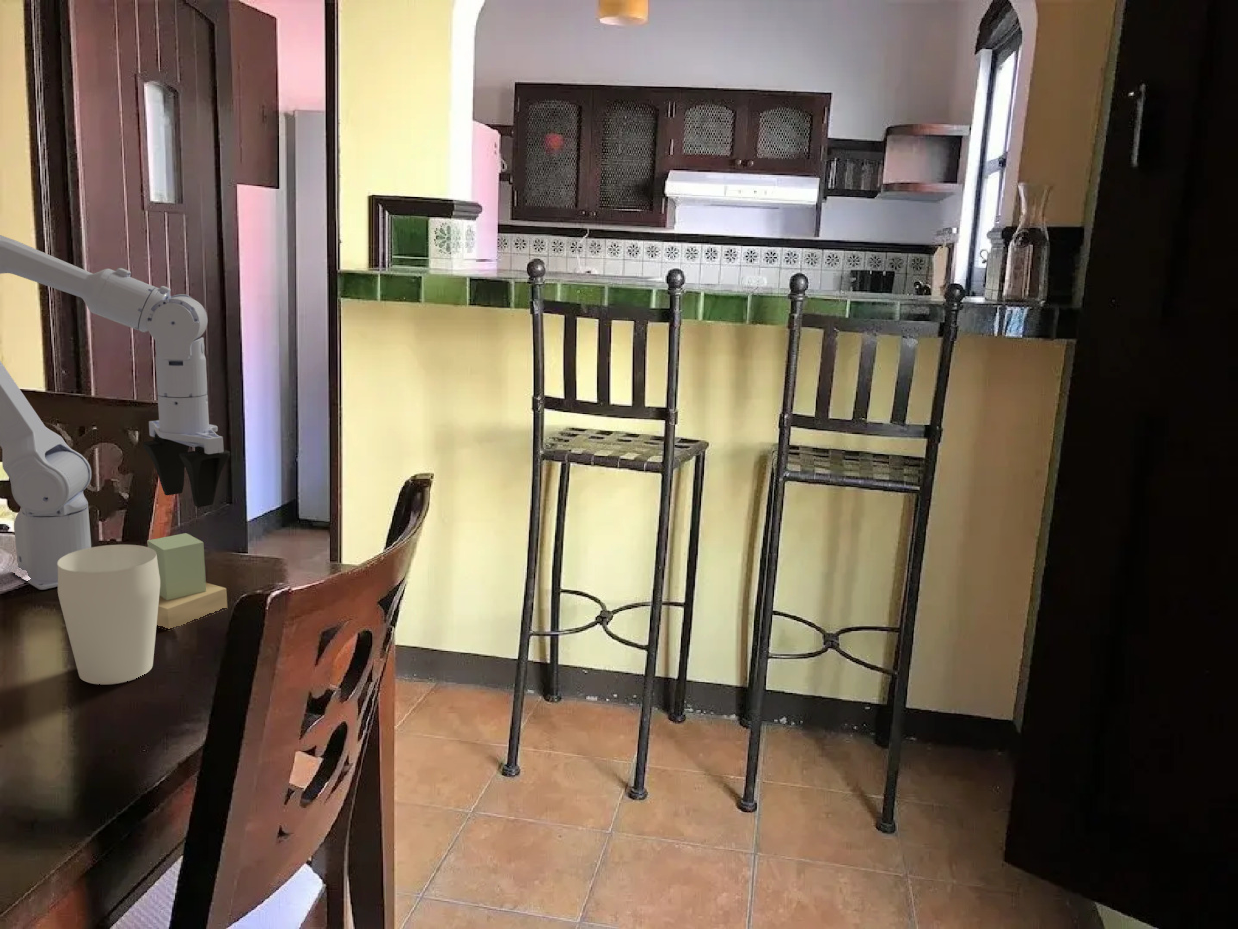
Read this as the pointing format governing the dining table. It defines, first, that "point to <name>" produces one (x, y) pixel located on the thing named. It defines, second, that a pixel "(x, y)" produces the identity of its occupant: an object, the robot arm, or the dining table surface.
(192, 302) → the robot arm
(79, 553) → the cup
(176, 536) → the green block
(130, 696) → the dining table surface
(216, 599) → the beech base
